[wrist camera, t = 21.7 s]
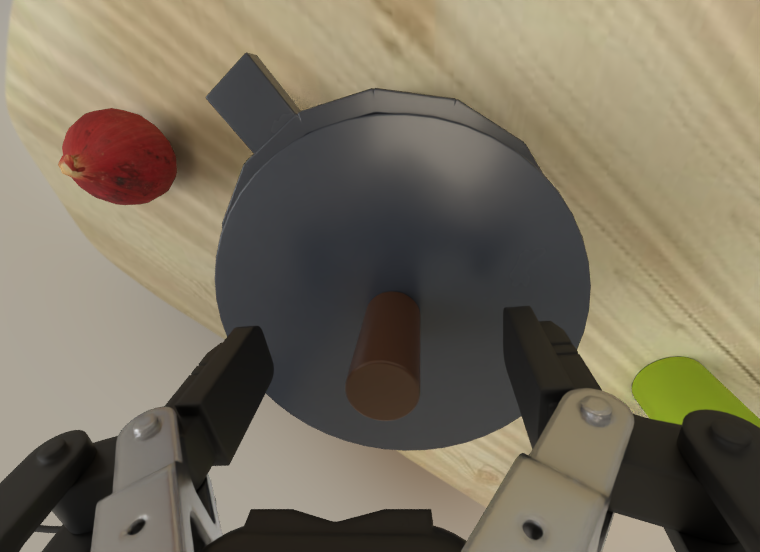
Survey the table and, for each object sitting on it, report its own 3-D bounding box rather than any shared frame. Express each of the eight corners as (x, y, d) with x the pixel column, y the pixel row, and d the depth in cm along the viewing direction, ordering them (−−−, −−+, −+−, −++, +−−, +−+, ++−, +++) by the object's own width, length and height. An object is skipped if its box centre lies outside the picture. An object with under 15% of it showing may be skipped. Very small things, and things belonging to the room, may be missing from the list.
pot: (401, 340, 32) (393, 469, 21) (236, 154, 26) (105, 197, 15) (556, 250, 28) (652, 356, 16) (396, -3, 22) (376, -108, 10)
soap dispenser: (607, 386, 33) (838, 736, 15) (685, 344, 30) (1078, 707, 12) (642, 423, 34) (889, 781, 16) (719, 386, 32) (1112, 762, 14)
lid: (358, 469, 21) (336, 593, 15) (159, 254, 17) (32, 319, 11) (638, 352, 16) (749, 470, 11) (457, 11, 12) (488, -79, 7)
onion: (211, 144, 26) (136, 162, 19) (180, 205, 29) (102, 242, 21) (136, 89, 25) (25, 86, 18) (110, 157, 27) (3, 179, 20)
